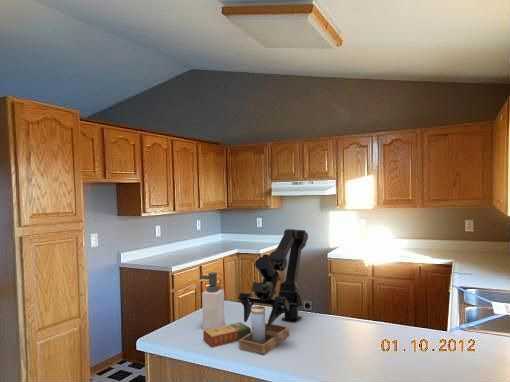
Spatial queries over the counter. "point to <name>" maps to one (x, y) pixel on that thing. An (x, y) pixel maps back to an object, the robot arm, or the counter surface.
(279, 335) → the caddy
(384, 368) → the counter surface
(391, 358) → the counter surface
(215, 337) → the carton
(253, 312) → the jar
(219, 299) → the soap dispenser
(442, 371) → the counter surface
